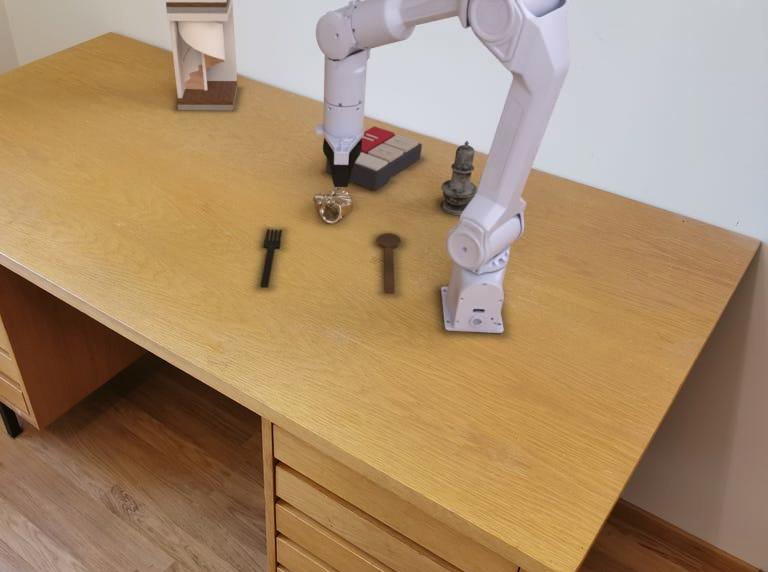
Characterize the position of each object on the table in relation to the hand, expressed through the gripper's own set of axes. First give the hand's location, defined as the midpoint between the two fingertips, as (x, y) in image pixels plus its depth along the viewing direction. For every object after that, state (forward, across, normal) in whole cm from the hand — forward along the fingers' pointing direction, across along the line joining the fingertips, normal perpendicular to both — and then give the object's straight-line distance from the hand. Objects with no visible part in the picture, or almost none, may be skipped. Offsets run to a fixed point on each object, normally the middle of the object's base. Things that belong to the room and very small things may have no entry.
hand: (341, 184), depth 113 cm
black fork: (+10, +6, -11) cm, 16 cm away
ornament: (+10, -8, -1) cm, 13 cm away
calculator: (+10, -24, +6) cm, 26 cm away
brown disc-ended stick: (+10, +6, +8) cm, 14 cm away
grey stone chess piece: (+10, -11, +20) cm, 24 cm away
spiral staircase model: (+10, -50, -29) cm, 59 cm away
